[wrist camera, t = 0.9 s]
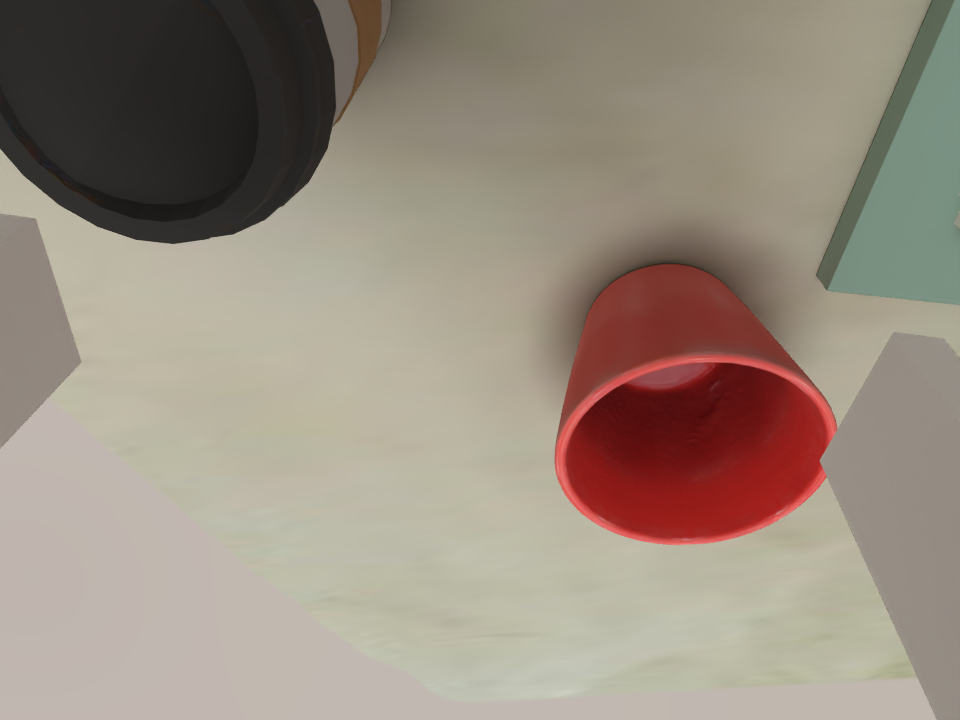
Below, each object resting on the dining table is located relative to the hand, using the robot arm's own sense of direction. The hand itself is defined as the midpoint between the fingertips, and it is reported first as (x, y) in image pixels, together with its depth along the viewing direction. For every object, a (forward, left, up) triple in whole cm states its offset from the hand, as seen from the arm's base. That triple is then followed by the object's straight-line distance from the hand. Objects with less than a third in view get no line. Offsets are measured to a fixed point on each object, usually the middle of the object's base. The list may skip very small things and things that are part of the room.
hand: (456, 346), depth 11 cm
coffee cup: (-2, -8, -21) cm, 22 cm away
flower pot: (+12, +9, -21) cm, 26 cm away
